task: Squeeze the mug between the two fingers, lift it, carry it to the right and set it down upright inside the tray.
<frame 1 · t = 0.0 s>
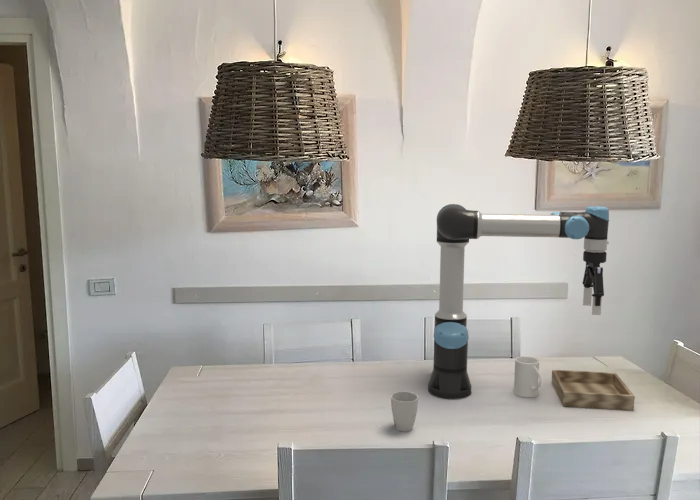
hand: (591, 310, 215), 28 cm above the table, fingers open, 13 cm apart
tray: (590, 396, 209), on the table
mug: (528, 395, 211), on the table
cup: (404, 428, 184), on the table
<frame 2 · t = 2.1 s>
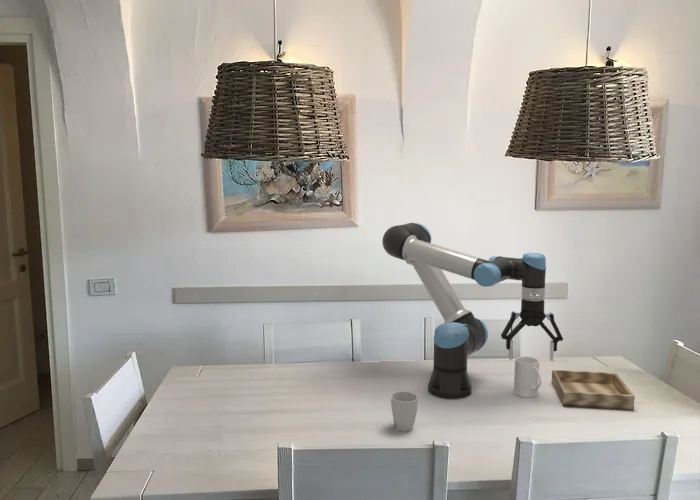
hand: (530, 359, 208), 13 cm above the table, fingers open, 13 cm apart
nothing on the table moved.
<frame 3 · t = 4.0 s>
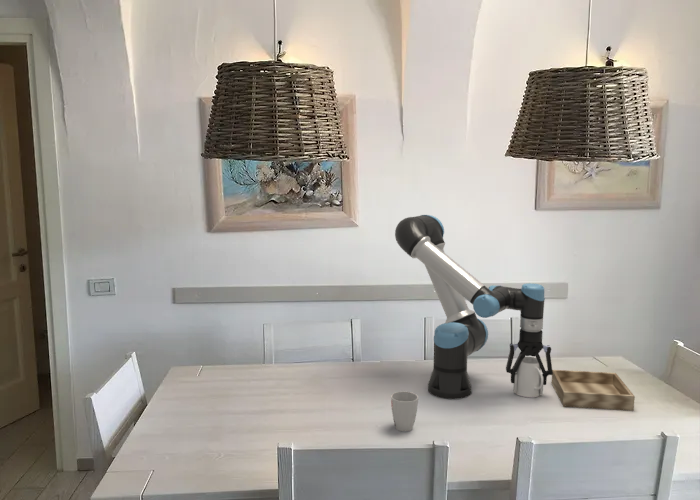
hand: (527, 392, 210), 1 cm above the table, fingers closed on mug, 8 cm apart
mug: (529, 395, 210), on the table, touching gripper
everything else where it was.
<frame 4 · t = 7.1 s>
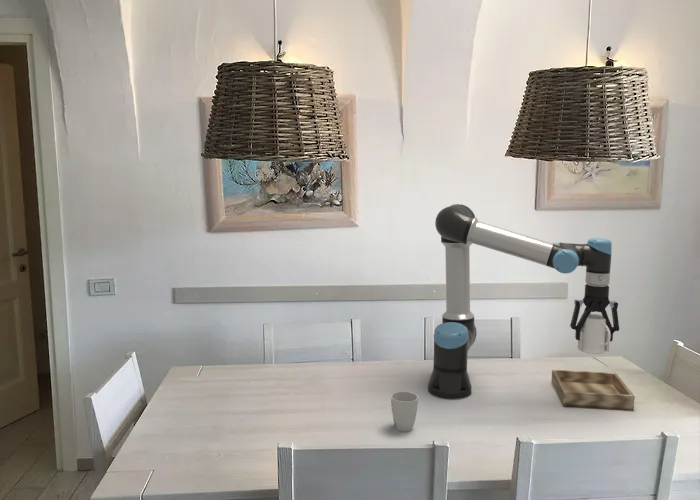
hand: (593, 349, 207), 17 cm above the table, fingers closed on mug, 8 cm apart
mug: (595, 352, 207), point 16 cm above the table, touching gripper
everything else where it was.
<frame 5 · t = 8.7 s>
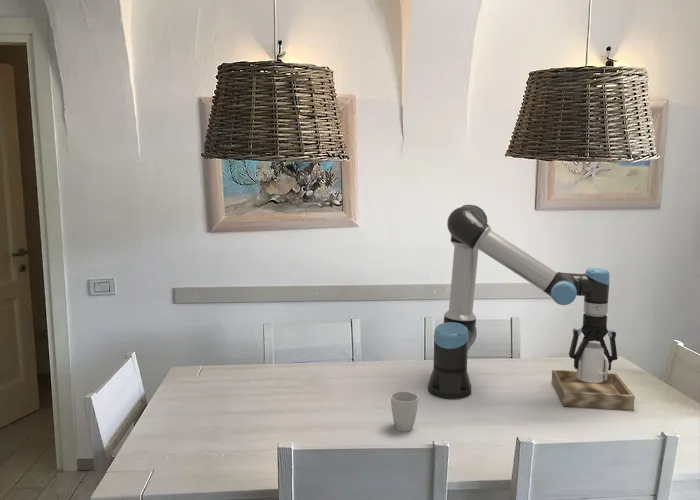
hand: (591, 378, 208), 6 cm above the table, fingers closed on mug, 8 cm apart
mug: (593, 381, 208), point 5 cm above the table, touching gripper
everything else where it was.
when the fingers open (4 cm above the table, at t = 10.2 s): mug drops 2 cm, resting on tray.
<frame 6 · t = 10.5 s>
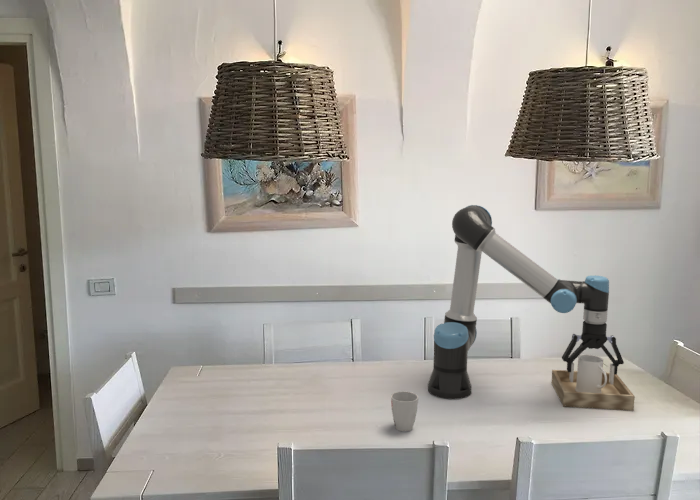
hand: (591, 382, 209), 5 cm above the table, fingers open, 12 cm apart
mug: (591, 393, 209), point 1 cm above the table, touching tray
everything else where it was.
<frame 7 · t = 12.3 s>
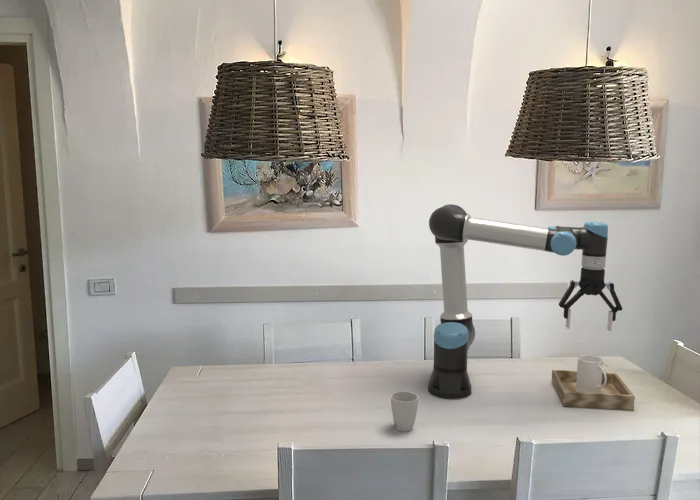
hand: (588, 328, 208), 23 cm above the table, fingers open, 13 cm apart
nothing on the table moved.
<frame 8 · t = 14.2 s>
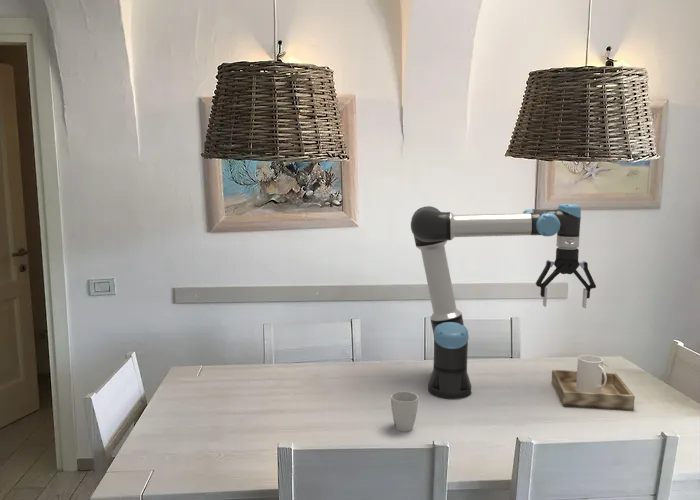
hand: (564, 306, 217), 29 cm above the table, fingers open, 13 cm apart
nothing on the table moved.
at the end: mug inside the target area on the tray (0.4 cm from its centre), point 0.8 cm above the tray's base; mug tilted 0°; the gripper is holding nothing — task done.
